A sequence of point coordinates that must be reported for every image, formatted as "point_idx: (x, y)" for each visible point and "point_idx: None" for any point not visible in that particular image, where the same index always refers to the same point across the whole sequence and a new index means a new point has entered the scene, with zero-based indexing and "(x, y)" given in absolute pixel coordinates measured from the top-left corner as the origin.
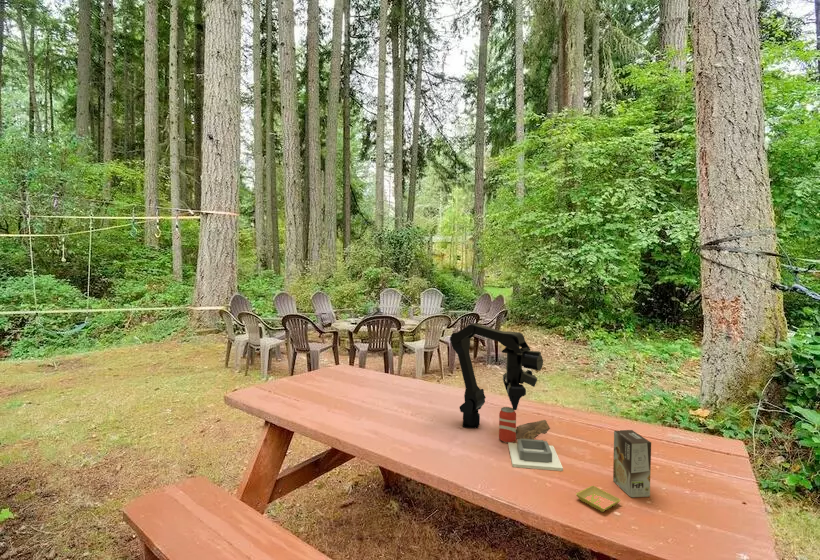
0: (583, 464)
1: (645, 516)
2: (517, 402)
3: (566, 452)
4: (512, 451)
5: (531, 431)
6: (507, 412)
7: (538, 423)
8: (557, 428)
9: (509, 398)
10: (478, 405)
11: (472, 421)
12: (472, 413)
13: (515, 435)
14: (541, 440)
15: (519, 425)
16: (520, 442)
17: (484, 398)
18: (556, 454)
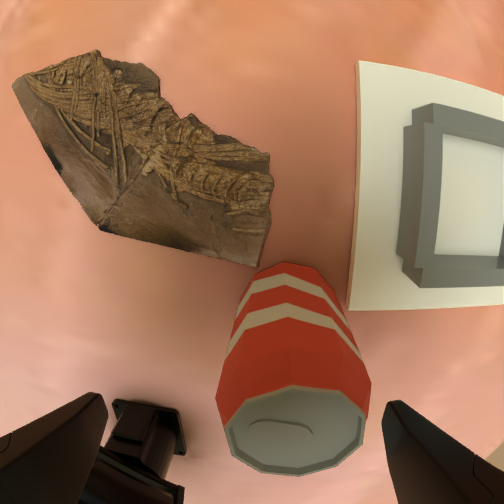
0: (468, 6)
1: None
2: (469, 464)
3: (384, 18)
4: (441, 297)
5: (147, 150)
6: (359, 437)
7: (46, 110)
8: (91, 19)
9: (100, 442)
10: (157, 502)
11: (169, 446)
12: (160, 475)
13: (313, 278)
14: (429, 135)
15: (87, 214)
16: (457, 273)
17: (94, 494)
18: (453, 81)
